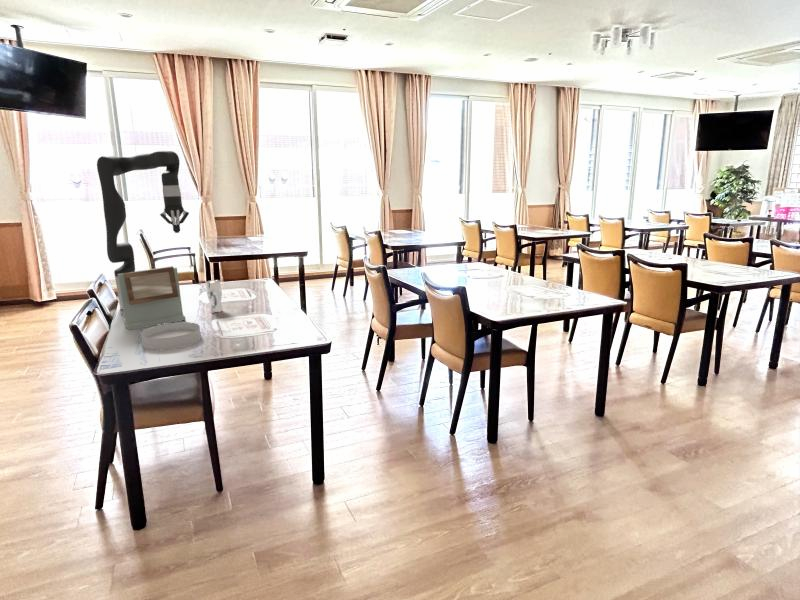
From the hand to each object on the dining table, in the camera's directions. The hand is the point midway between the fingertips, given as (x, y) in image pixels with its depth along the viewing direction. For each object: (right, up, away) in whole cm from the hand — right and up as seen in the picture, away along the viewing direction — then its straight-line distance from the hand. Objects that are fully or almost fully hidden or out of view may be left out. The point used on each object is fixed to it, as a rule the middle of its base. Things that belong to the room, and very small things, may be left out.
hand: (176, 232), depth 243 cm
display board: (-7, -42, -7) cm, 43 cm away
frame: (-4, -32, -13) cm, 35 cm away
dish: (+14, -49, -35) cm, 62 cm away
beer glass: (+15, -38, +9) cm, 42 cm away
